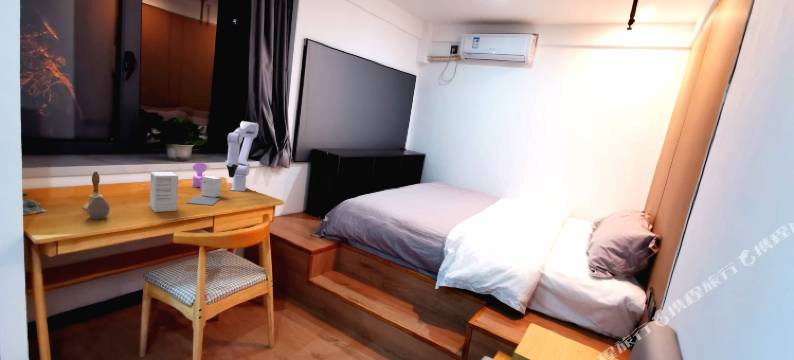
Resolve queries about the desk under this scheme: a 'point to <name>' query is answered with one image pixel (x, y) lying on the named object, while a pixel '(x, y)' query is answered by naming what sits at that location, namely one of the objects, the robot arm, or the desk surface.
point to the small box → (211, 186)
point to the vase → (98, 208)
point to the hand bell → (95, 183)
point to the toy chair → (198, 174)
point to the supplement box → (163, 191)
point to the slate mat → (203, 200)
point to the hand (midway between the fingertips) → (231, 177)
